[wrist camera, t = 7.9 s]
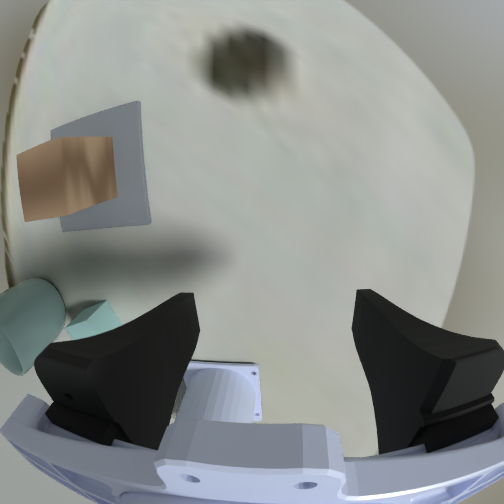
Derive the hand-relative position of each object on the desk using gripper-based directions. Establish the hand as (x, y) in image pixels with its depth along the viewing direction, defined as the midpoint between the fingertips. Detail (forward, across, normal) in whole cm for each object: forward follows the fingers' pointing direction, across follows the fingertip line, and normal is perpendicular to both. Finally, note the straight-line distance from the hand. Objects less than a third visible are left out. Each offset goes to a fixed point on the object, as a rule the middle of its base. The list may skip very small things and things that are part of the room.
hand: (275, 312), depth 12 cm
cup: (+10, +26, +6) cm, 29 cm away
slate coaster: (+10, +15, -7) cm, 19 cm away
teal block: (+10, +18, +8) cm, 22 cm away
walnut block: (+9, +15, -7) cm, 19 cm away
